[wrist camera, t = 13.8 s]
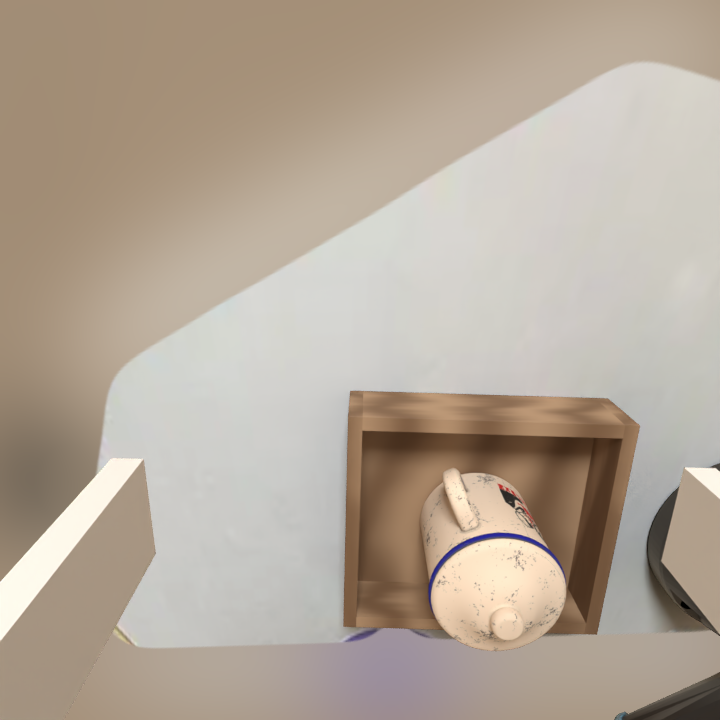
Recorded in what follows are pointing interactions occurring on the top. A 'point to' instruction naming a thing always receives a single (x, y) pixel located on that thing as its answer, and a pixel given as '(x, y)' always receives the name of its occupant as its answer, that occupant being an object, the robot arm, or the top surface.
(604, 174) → the top surface
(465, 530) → the teacup with lid
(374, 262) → the top surface
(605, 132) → the top surface
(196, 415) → the top surface
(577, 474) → the walnut box
